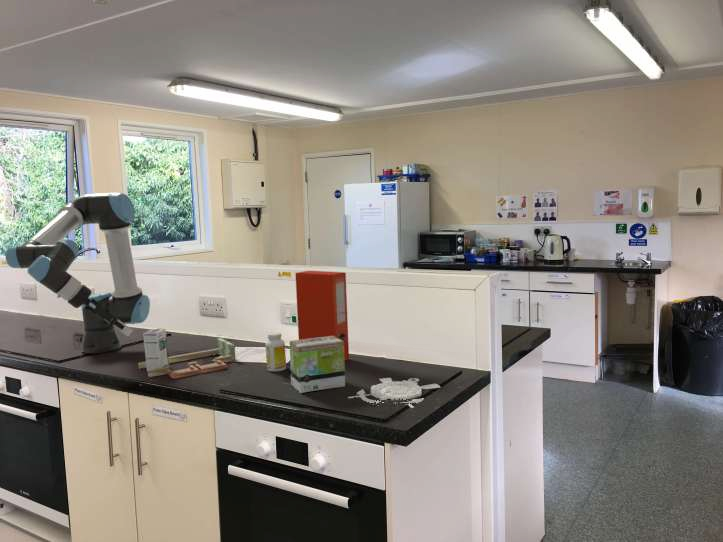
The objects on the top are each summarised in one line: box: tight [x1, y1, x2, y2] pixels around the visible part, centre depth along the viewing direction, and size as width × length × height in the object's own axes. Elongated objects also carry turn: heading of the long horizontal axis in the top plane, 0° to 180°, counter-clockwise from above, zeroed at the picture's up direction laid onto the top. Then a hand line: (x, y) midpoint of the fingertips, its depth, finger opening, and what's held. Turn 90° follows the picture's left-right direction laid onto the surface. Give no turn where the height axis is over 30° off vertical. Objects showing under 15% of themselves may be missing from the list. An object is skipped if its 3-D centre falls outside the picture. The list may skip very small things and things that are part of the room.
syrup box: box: [142, 328, 170, 373], centre depth 215 cm, size 6×6×14 cm
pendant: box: [347, 377, 442, 409], centre depth 181 cm, size 21×28×1 cm
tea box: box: [289, 336, 346, 394], centre depth 189 cm, size 15×10×15 cm
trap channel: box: [137, 337, 236, 380], centre depth 218 cm, size 23×32×6 cm
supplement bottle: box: [265, 331, 287, 373], centre depth 209 cm, size 7×7×13 cm
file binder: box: [295, 270, 350, 361], centre depth 220 cm, size 8×17×32 cm, turn 53°
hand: (126, 330), depth 209 cm, fingers open, 13 cm apart
